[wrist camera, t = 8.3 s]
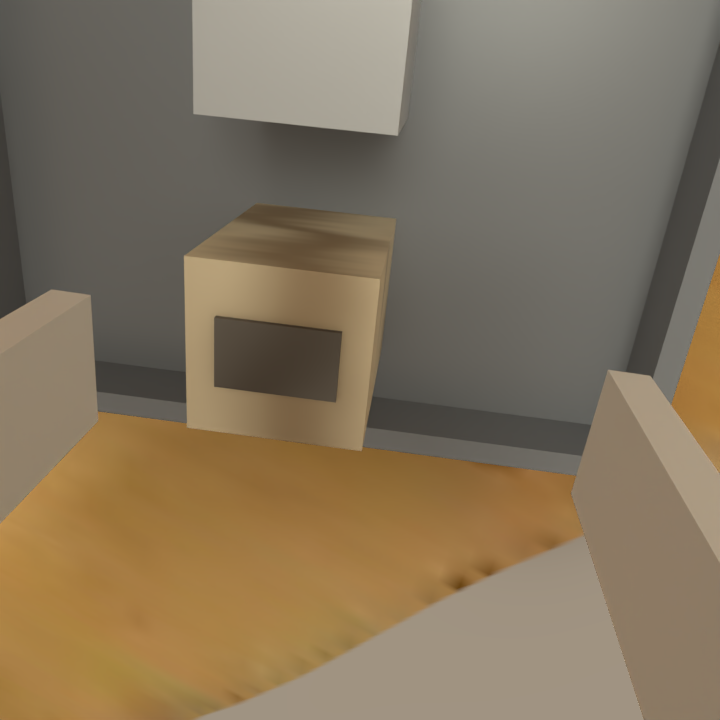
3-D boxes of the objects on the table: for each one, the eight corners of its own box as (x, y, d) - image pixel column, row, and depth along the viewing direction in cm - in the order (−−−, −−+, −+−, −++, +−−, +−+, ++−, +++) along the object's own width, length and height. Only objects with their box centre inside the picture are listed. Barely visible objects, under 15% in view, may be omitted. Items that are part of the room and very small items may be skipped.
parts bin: (22, 363, 33) (-24, 395, 30) (-49, -177, 24) (-124, -216, 21) (623, 441, 31) (645, 484, 28) (786, -109, 23) (846, -140, 19)
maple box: (253, 332, 31) (185, 430, 22) (257, 202, 28) (181, 257, 20) (381, 348, 30) (360, 454, 22) (396, 218, 28) (380, 281, 19)
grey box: (259, 103, 26) (193, 113, 19) (264, -73, 24) (190, -136, 17) (407, 118, 26) (397, 135, 19) (427, -58, 24) (425, -117, 16)
